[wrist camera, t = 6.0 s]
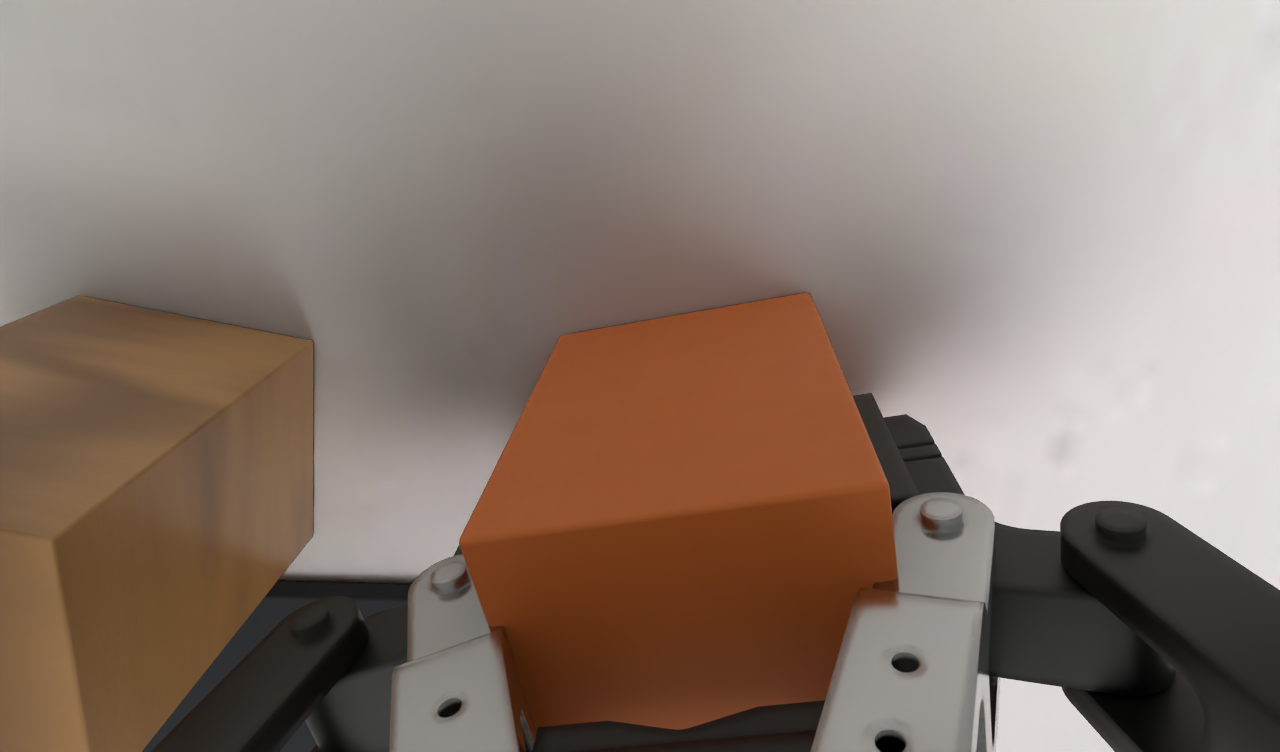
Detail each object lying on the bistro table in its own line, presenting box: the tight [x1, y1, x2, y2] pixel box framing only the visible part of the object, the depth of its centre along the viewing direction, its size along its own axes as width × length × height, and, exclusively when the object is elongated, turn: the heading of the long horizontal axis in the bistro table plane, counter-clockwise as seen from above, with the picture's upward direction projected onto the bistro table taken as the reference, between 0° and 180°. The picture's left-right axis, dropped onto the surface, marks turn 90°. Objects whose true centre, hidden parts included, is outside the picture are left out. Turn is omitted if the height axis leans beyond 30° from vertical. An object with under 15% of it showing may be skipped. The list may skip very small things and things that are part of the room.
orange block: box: [459, 293, 898, 730], centre depth 13 cm, size 5×5×7 cm
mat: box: [142, 581, 411, 752], centre depth 20 cm, size 20×8×1 cm, turn 92°
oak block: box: [0, 296, 313, 752], centre depth 14 cm, size 5×5×7 cm
